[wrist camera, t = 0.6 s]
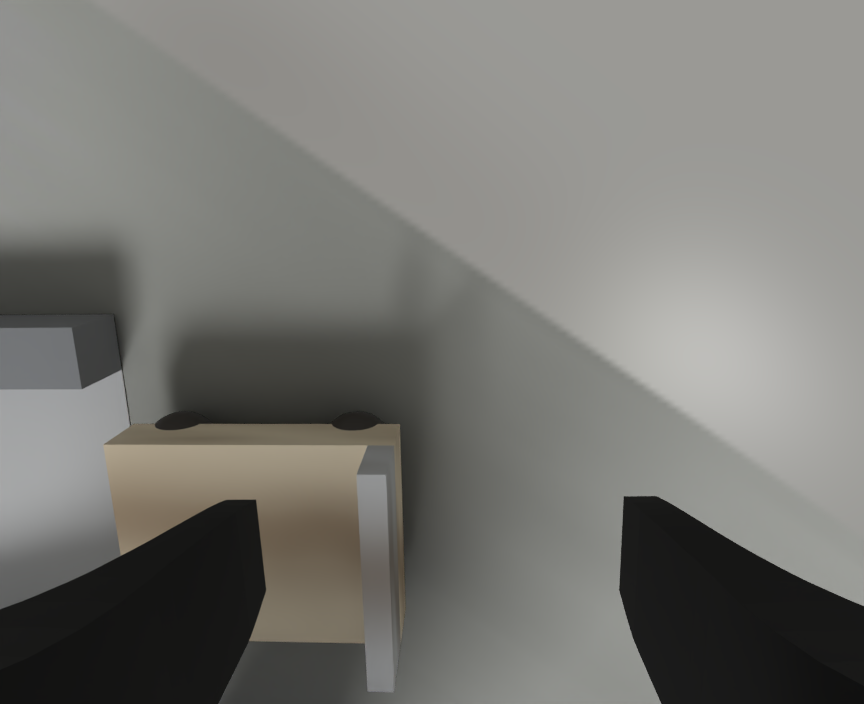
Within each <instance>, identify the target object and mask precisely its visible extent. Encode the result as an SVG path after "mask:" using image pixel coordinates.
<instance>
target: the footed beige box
mask: <svg viewBox="0 0 864 704" xmlns="http://www.w3.org/2000/svg"><path fill="white" fill-rule="evenodd" d="M103 447H104V453H105V460H106V466H107V472H108V479H109V485H110V491H111V497H112V504H113V510H114V516H115V523H116V529H117V535H118V541H119V548H120V554H121V555H123V554H125V553H127V552H129V551H131V550H133V549H135V548H137V547H139V546H141V545H142V544H144V543H146V542H148V541H150V540H151V539H153V538H155V537H157V536H159V535H160V534H162V533H164V532H166V531H167V530H169V529H171V528H173V527H175V526H176V525H178V524H180V523H182V522H183V521H185V520H187V519H189V518H190V517H192V516H194V515H196V514H198V513H199V512H201V511H203V510H205V509H207V508H209V507H211V506H213V505H215V504H217V503H219V502H222V501H224V500H256V503H257V512H258V521H259V530H260V539H261V548H262V557H263V566H264V575H265V584H266V593H265V596H264V599H263V602H262V605H261V608H260V612H259V615H258V618H257V620H256V623H255V626H254V629H253V632H252V635H251V637H250V639H249V641H264V642H316V643H365V654H366V674H367V692H394V690H395V683H396V675H397V668H398V661H399V653H400V646H401V639H402V631H403V624H404V616H405V609H406V605H405V572H404V540H403V507H402V475H401V442H400V424H384V423H383V422H382V421H381V420H380V419H379V418H377V417H376V416H374V415H372V414H370V413H366V412H360V411H356V412H349V413H345V414H343V415H341V416H339V417H338V418H336V419H335V420H334V421H332V422H331V424H213V423H212V422H211V421H210V420H208V419H207V418H206V417H204V416H202V415H200V414H197V413H194V412H188V411H182V412H175V413H172V414H169V415H167V416H165V417H163V418H162V419H160V420H159V421H158V422H157V423H156V424H133V425H131V426H130V427H129V428H127V429H126V430H124V431H123V432H121V433H120V434H118V435H117V436H115V437H114V438H112V439H111V440H109V441H108V442H106V443H105V444H103Z"/></svg>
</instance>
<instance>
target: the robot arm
mask: <svg viewBox="0 0 864 704" xmlns="http://www.w3.org/2000/svg"><path fill="white" fill-rule="evenodd" d="M619 591H620V594H621V598H622V602H623V605H624V609H625V612H626V616H627V619H628V623H629V626H630V629H631V633H632V636H633V639H634V641H635V644H636V646H637V649H638V651H639V653H640V656H641V658H642V660H643V662H644V665H645V667H646V669H647V672H648V674H649V676H650V679H651V681H652V683H653V685H654V688H655V690H656V692H657V694H658V697H659V699H660V701H661V704H864V606H862V605H859V604H857V603H854V602H852V601H850V600H847V599H845V598H843V597H841V596H838V595H836V594H834V593H832V592H829V591H827V590H825V589H823V588H820V587H818V586H816V585H814V584H811V583H809V582H807V581H805V580H803V579H801V578H799V577H797V576H795V575H793V574H791V573H789V572H787V571H785V570H783V569H781V568H780V567H778V566H776V565H774V564H772V563H770V562H768V561H766V560H765V559H763V558H761V557H759V556H757V555H755V554H754V553H752V552H750V551H748V550H747V549H745V548H743V547H741V546H740V545H738V544H736V543H734V542H733V541H731V540H729V539H728V538H726V537H724V536H723V535H721V534H719V533H718V532H716V531H714V530H713V529H711V528H710V527H708V526H706V525H705V524H703V523H701V522H700V521H698V520H697V519H695V518H693V517H692V516H690V515H689V514H687V513H685V512H684V511H682V510H680V509H679V508H677V507H675V506H674V505H672V504H670V503H669V502H667V501H665V500H663V499H661V498H659V497H657V496H637V497H624V505H623V526H622V547H621V568H620V588H619ZM265 593H266V584H265V575H264V566H263V557H262V548H261V539H260V530H259V521H258V512H257V503H256V500H224V501H222V502H219V503H217V504H215V505H213V506H211V507H209V508H207V509H205V510H203V511H201V512H199V513H198V514H196V515H194V516H192V517H190V518H189V519H187V520H185V521H183V522H182V523H180V524H178V525H176V526H175V527H173V528H171V529H169V530H167V531H166V532H164V533H162V534H160V535H159V536H157V537H155V538H153V539H151V540H150V541H148V542H146V543H144V544H142V545H141V546H139V547H137V548H135V549H133V550H131V551H129V552H127V553H125V554H123V555H121V556H119V557H117V558H116V559H114V560H112V561H110V562H108V563H106V564H104V565H102V566H100V567H98V568H96V569H94V570H92V571H90V572H88V573H86V574H84V575H82V576H80V577H78V578H75V579H73V580H71V581H69V582H67V583H64V584H62V585H60V586H57V587H55V588H53V589H50V590H48V591H46V592H43V593H41V594H39V595H36V596H34V597H31V598H29V599H26V600H24V601H21V602H19V603H16V604H13V605H10V606H8V607H5V608H2V609H0V704H218V703H219V701H220V699H221V697H222V695H223V693H224V691H225V689H226V687H227V685H228V683H229V681H230V679H231V677H232V675H233V673H234V671H235V668H236V666H237V664H238V662H239V660H240V658H241V656H242V654H243V652H244V650H245V648H246V646H247V644H248V642H249V639H250V637H251V635H252V632H253V629H254V626H255V623H256V620H257V618H258V615H259V612H260V608H261V605H262V602H263V599H264V596H265Z"/></svg>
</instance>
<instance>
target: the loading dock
mask: <svg viewBox="0 0 864 704" xmlns="http://www.w3.org/2000/svg"><path fill="white" fill-rule="evenodd" d="M129 427H130V420H129V413H128V406H127V399H126V393H125V386H124V379H123V372H122V369H121V362H120V355H119V348H118V342H117V335H116V328H115V321H114V314H79V315H0V609H2V608H5V607H8V606H10V605H13V604H16V603H19V602H21V601H24V600H26V599H29V598H31V597H34V596H36V595H39V594H41V593H43V592H46V591H48V590H50V589H53V588H55V587H57V586H60V585H62V584H64V583H67V582H69V581H71V580H73V579H75V578H78V577H80V576H82V575H84V574H86V573H88V572H90V571H92V570H94V569H96V568H98V567H100V566H102V565H104V564H106V563H108V562H110V561H112V560H114V559H116V558H117V557H119V556H121V554H120V548H119V541H118V535H117V529H116V523H115V516H114V510H113V504H112V497H111V491H110V485H109V479H108V472H107V466H106V460H105V453H104V447H103V444H105V443H106V442H108V441H109V440H111V439H112V438H114V437H115V436H117V435H118V434H120V433H121V432H123V431H124V430H126V429H127V428H129Z"/></svg>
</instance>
